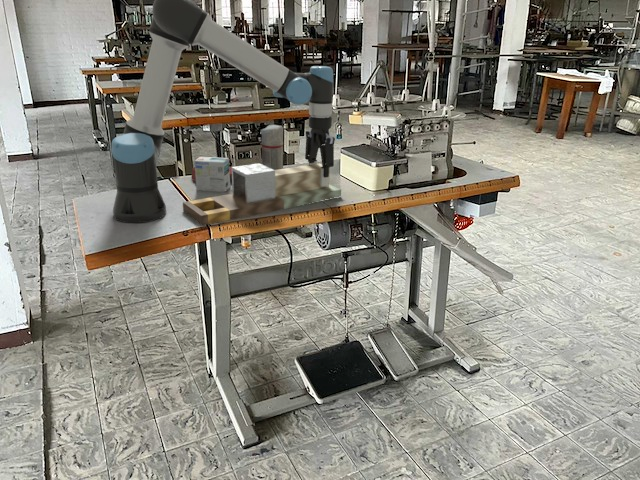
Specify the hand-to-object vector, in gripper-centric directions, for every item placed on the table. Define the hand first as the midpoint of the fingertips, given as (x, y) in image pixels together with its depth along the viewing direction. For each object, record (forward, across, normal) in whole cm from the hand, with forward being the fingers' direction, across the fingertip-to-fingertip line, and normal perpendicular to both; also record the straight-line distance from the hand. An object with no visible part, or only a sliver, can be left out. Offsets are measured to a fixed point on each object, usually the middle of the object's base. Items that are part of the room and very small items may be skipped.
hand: (318, 183), depth 180 cm
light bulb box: (+4, +24, +28) cm, 37 cm away
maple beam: (+1, 0, +8) cm, 9 cm away
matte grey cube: (+1, 0, +25) cm, 25 cm away
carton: (+4, +33, +18) cm, 38 cm away
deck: (+4, 0, +21) cm, 21 cm away
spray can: (+4, +25, +3) cm, 26 cm away
